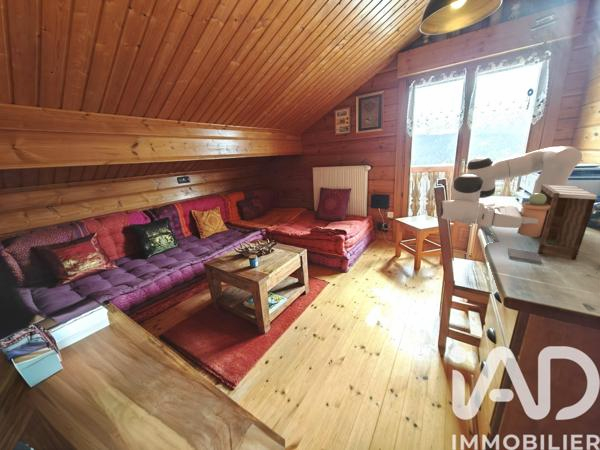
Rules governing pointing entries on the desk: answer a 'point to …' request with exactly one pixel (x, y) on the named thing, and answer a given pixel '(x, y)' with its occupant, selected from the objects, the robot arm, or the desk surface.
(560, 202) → the slatted wooden crate
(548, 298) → the desk surface
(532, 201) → the terracotta pot
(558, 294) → the desk surface
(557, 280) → the desk surface
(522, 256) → the slate tile
